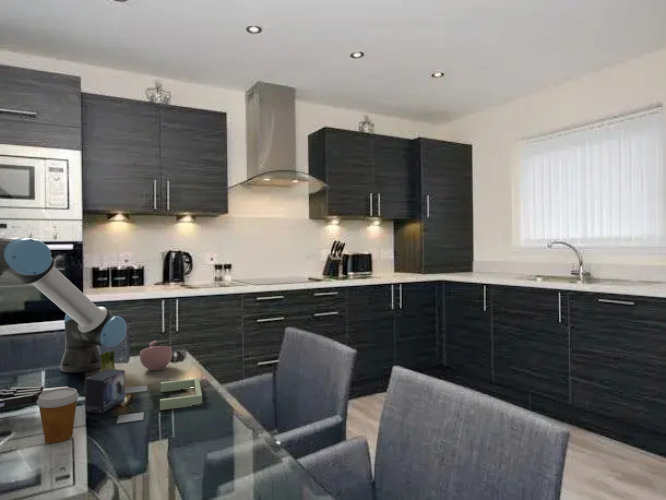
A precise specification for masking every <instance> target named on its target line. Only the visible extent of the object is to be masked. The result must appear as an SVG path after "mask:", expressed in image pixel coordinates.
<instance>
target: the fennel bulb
mask: <svg viewBox="0 0 666 500" xmlns="http://www.w3.org/2000/svg"><path fill="white" fill-rule="evenodd" d="M100 356H101V367H100V368H99V369H100V370H99V373H100V372H102V371H104V370H107V369H116V365H115V350H107V351H104V352H103V353H102V352H101V354H100Z"/></svg>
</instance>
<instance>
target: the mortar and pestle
mask: <svg viewBox="0 0 666 500" xmlns="http://www.w3.org/2000/svg"><path fill="white" fill-rule="evenodd" d="M157 343H158V341H157V340H154V341H152V342H150V343H149V345H148V346H149V347H146V348H143V349H141V351H140V352H139V360H140V364H141V365H143V367H144V368H145V369H147V370H150V371H160V370H162V369H164V368H166V367H167V366H168V365H169V364H170V362H171V361H172V358H173V349H172V347H171V346H169V345H158V346H156V345H155V344H157Z"/></svg>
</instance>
